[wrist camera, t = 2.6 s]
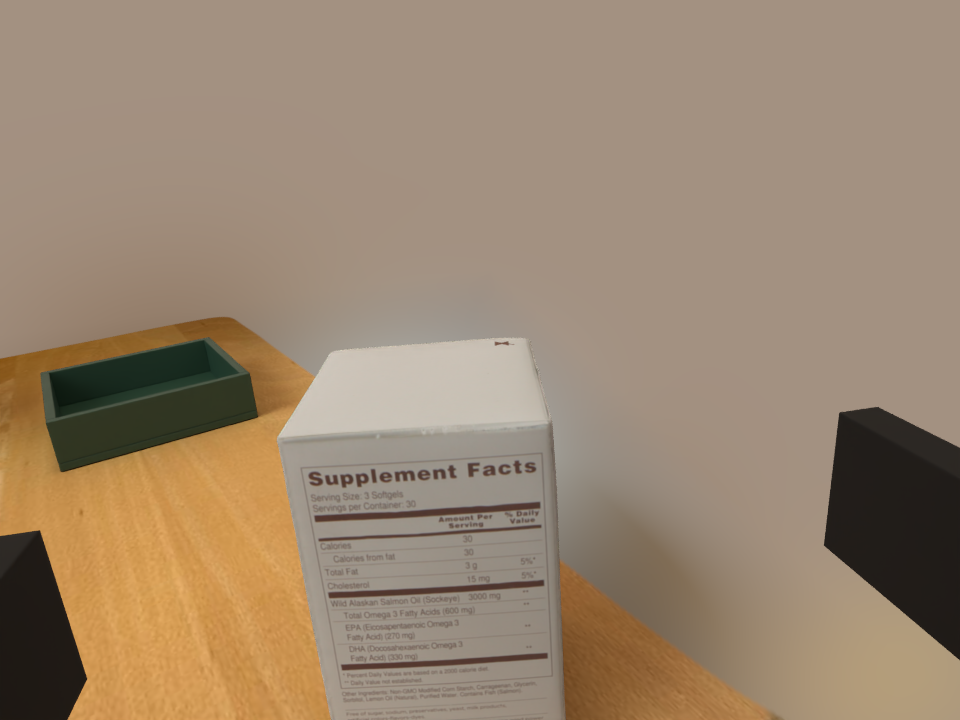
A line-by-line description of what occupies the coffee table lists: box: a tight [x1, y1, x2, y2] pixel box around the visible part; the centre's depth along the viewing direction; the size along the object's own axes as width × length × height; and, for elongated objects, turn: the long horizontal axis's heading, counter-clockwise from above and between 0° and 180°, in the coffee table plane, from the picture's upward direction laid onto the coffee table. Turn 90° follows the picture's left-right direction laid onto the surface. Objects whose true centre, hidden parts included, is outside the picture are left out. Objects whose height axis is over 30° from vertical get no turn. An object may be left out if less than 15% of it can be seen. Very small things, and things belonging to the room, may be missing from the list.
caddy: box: [40, 337, 258, 472], centre depth 53 cm, size 13×13×4 cm
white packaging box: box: [277, 338, 566, 720], centre depth 22 cm, size 7×7×13 cm
